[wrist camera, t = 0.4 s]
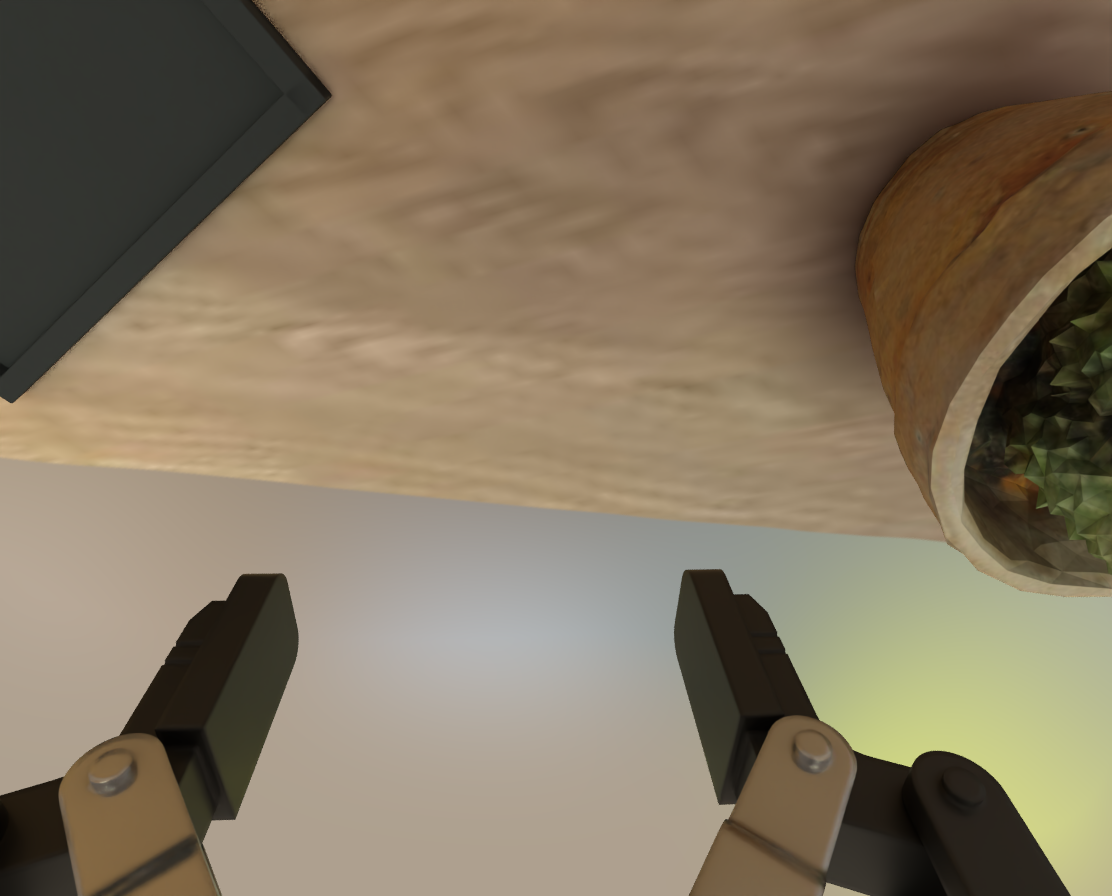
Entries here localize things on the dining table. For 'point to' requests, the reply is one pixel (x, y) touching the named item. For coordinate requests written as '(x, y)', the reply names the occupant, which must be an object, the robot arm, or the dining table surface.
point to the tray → (123, 149)
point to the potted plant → (1004, 336)
